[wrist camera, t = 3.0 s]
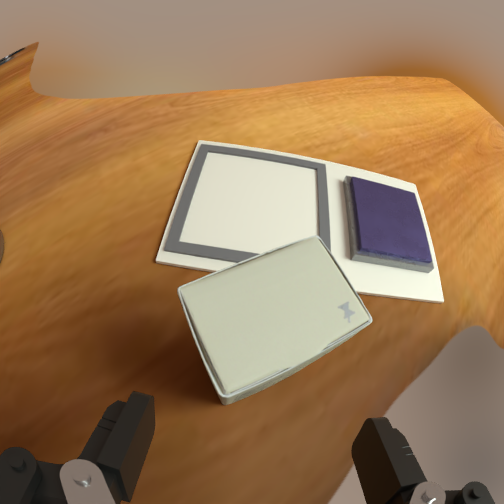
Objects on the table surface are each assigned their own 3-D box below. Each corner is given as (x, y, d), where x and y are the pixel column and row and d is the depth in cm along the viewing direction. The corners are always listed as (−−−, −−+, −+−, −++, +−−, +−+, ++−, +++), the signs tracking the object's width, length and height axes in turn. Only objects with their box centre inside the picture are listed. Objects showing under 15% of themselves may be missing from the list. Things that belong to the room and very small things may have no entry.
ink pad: (350, 260, 26) (357, 251, 24) (343, 181, 31) (347, 172, 30) (428, 273, 26) (436, 265, 25) (411, 198, 31) (416, 190, 30)
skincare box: (273, 322, 22) (324, 227, 12) (299, 371, 20) (382, 317, 10) (194, 355, 20) (171, 282, 10) (219, 408, 18) (222, 401, 8)
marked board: (156, 263, 24) (155, 258, 23) (199, 142, 32) (199, 138, 32) (441, 303, 25) (445, 300, 24) (413, 186, 33) (416, 182, 33)
